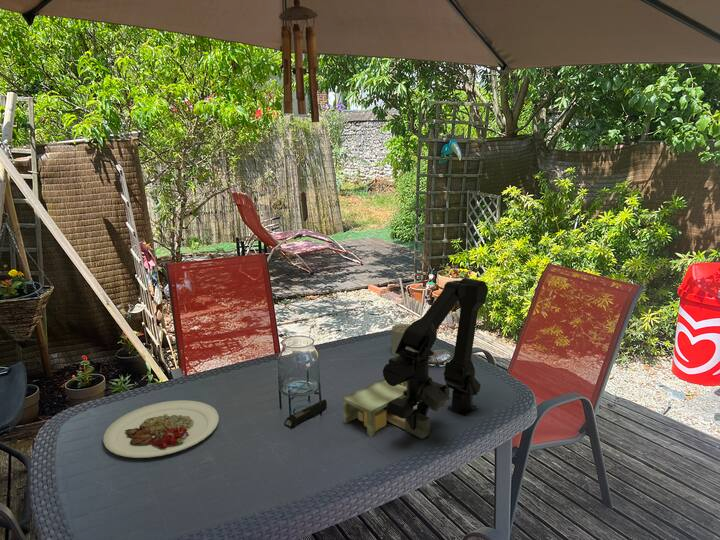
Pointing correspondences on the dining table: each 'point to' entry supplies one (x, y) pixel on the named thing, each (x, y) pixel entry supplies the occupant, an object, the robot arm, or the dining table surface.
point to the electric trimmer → (305, 414)
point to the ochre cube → (377, 419)
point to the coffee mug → (398, 336)
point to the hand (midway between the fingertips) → (417, 427)
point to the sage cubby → (371, 402)
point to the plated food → (161, 429)
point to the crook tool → (406, 423)
